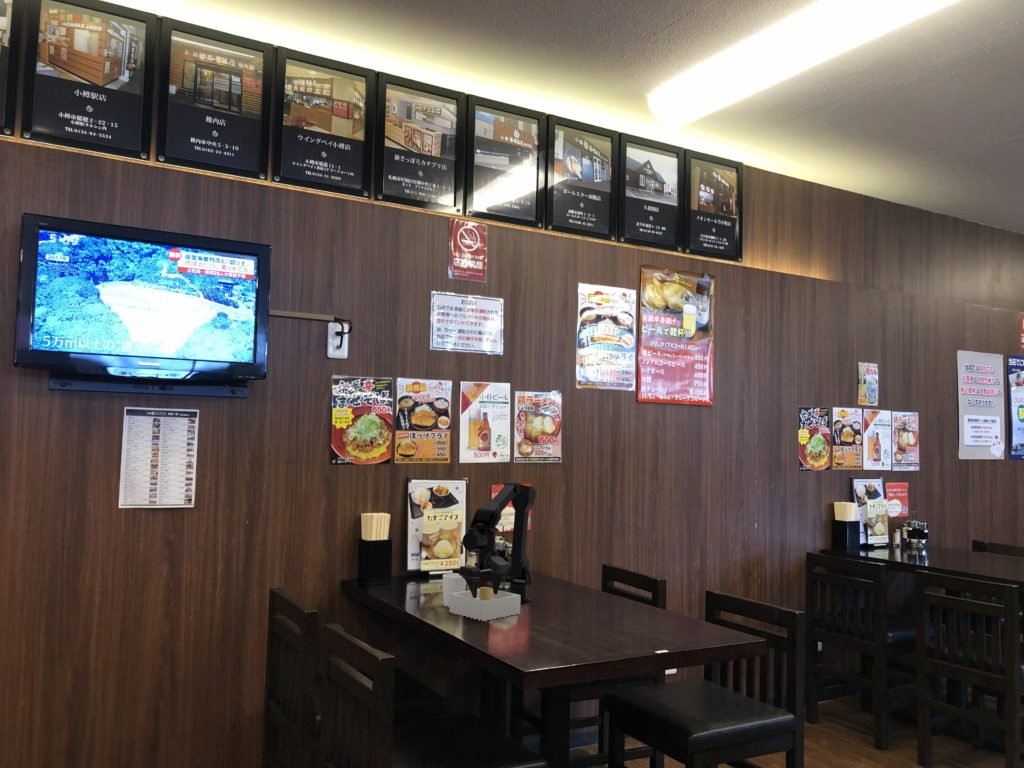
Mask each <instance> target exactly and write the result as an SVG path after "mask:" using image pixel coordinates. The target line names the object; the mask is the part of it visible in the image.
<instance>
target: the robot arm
mask: <svg viewBox="0 0 1024 768" xmlns="http://www.w3.org/2000/svg"><path fill="white" fill-rule="evenodd" d="M536 497H537V491H536V489H534V487H533V486H532V485H525V484H522V483H520V482H518V481H506V482H505V483H504V484H503V487H502V488H501V489H500V490H499V491H498V493H497V494H496V495H495V496H494V497H493V498H492V500H491V501H489V502H487V503H484V504H481V506H479V507H478V508H477V509H476V510H475V513H474V515H473V518H472V519H471V522H470V524H469V525H470V526H469V527H468V528H467V529H468V530H467V533H465V534H464V535H463V538H462V546H463V547H464V549H465V550H466V551H470V552H472V551H474V553H475V554H477V559H476V562H474V565H463V566H460V567H459V569H458V574H459V575H460V576H462V578H464V579H465V581H466V585H467V586H468V589H469V590H470V591H471V594H472V596H473V598H476V597H477V589H478V582H479V581H480V579H481V577H480V575H481V573H489V572H490V577H491V583H492V589H493V592H494V594H495V595H497V593H498V590H499V591H500V587H501V584H502V582H503V579H504V580H505V581H504V582H505V583H509V587H508V592H509V593H513V594H518V595H521V602H520V604H523V603H528V602H532V599H531V598H529V588H530V586H531V585H533V583H534V579H535V577H534V575H533V573H532V571H531V569H530V561H529V559H528V557H527V555H526V550H527V549H526V548H527V537H528V528H529V527H528V524H529V517H530V515H529V514H530V511H531V509H532V508H533V507H534V505H535V502H536V501H535V500H536ZM510 503H511V505H512V507H513V510H514V518H513V529H512V541H511V551H510V553H509V555H507V556H504V557H500V555H499V550H496V537H497V536H496V533H498V532H499V528H498V527H497V525H499V523H500V521H501V520H502V512H503V511H504V510H505V508H507V507H508V505H509V504H510Z"/></svg>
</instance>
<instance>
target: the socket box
mask: <svg viewBox="0 0 1024 768" xmlns="http://www.w3.org/2000/svg"><path fill="white" fill-rule="evenodd" d="M479 590H480V588H477V597H476V598H473V596H472V594H471V591H470V589H469V590H465V591H463V592H457V593H451V594H450V607H449V613H450V612H451V613H450V614H453V613H454V614H453V615H457V614H458V616H460V615H462V617H464V616H466V617H465V618H468V617H470V618H469V619H472V618H473V620H476V619H478V620H477V621H480V620H482V621H481V622H483V621H485V622H488V621H487V620H490V621H492V620H491V619H495V620H497V619H496V618H499V619H501V618H500V617H504V618H506V617H505V616H509V617H511V616H510V615H514V616H516V615H515V614H518V615H521V603H520V602H521V595H518V594H513V593H509V591H503V590H500V589H499V590H498V593H497V595H495V594H494V592H493V588H492V600H487V601H483V600H479Z"/></svg>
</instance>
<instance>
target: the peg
mask: <svg viewBox="0 0 1024 768" xmlns="http://www.w3.org/2000/svg"><path fill="white" fill-rule="evenodd" d="M479 589H480V590H479V600H483V601H487V600H492V589H493V587H489V586H482V587H479Z"/></svg>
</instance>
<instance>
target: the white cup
mask: <svg viewBox="0 0 1024 768" xmlns="http://www.w3.org/2000/svg"><path fill="white" fill-rule="evenodd" d="M466 586H467V583H466V581H465V579H464V578H462V576H460V575H459V572H458V573H456V572H453V573H452V572H451V573H444V574H443V575H442V597H443V606H444V607H445V606H448V607H447V608H450V594H451V593H457V592H463V591H466V588H467V587H466Z"/></svg>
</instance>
